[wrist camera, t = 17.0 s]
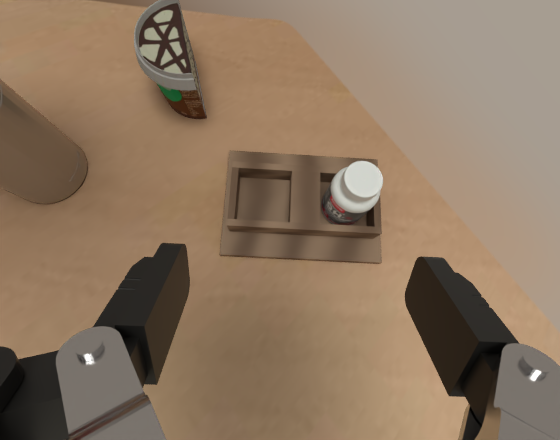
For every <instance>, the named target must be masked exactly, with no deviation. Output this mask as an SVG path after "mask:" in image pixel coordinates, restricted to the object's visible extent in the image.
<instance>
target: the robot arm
mask: <svg viewBox="0 0 560 440" xmlns="http://www.w3.org/2000/svg"><path fill="white" fill-rule="evenodd" d="M86 173H87V160H86V157H85V154H84V153H83V151H82V150H81V149H80V147H78V146H77V145H76V144H75V143H74V142H73V141H71V140H70V139H69V138H68V137H67V136H66V135H65V134H63V133H62V132H61V131H60V130H59V129H58V128H57V127H55V126H54V125H53V124H52V123H51V122H50V121H49V120H47V119H46V118H45V117H44V116H43V115H42V114H40V113H39V112H38V111H37V110H36V109H35V108H33V107H32V106H31V105H30V104H29V103H28V102H26V101H25V100H24V99H23V98H22V97H21V96H19V95H18V94H17V93H16V92H15V91H14V90H12V89H11V88H10V87H9V86H8V85H7V84H5V83H4V82H3V81H2V80H1V79H0V188H2V189H4V190H6V191H9V192H11V193H13V194H15V195H18V196H20V197H22V198H24V199H27V200H29V201H31V202H35V203H39V204H49V203H55V202H58V201H61V200H63V199H65V198H67V197H69V196H70V195H71V194H73V193H74V192H75V191H76V190H77V189H78V188H79V187H80V186H81V184H82V182H83V181H84V179H85V176H86ZM189 287H190V277H189V267H188V257H187V248H186V245H185V244H174V243H162V244H161V245H160V246H159V248H158V250H157V251H156V253H155V255H154V257H144V258H142V259H141V260H140V261H138V262H137V263H136V264H134V265H133V266H132V267H131V269H130V270H129V272H128V273H127V275H126V276H125V279H124V280H123V281H122V283H121V284H120V286H119V287H118V290H116V292H115V294H114V295H113V297H112V298H111V300H110V301H109V303H108V304H107V306H106V308H105V309H104V311H103V312H102V314H101V315H100V317H99V318H98V320H97V321H96V323H95V325H94V326H93V328H89V329H86V330H84V331H81V332H79V333H77V334H76V335H74V336H73V337H71V338H70V339H69V340H68V341H66V342H65V343H64V344H63V346H62V347H61V348H60V350H58V351H54V352H50V353H46V354H41V355H36V356H32V357H27V358H23V359H18V358H17V356H16V355H15V353H14V351H13V350H11V349H9V348H7V347H0V440H166V438H165V436H164V433H163V431H162V428H161V426H160V423H159V421H158V419H157V416H156V414H155V411H154V409H153V406H152V404H151V402H150V400H149V398H148V396H147V395H145V393H144V391H143V389H142V388H143V386H144V384H154V385H157V383H158V380H159V377H160V374H161V371H162V369H163V366H164V363H165V360H166V357H167V354H168V351H169V349H170V346H171V343H172V340H173V337H174V334H175V332H176V329H177V326H178V323H179V320H180V317H181V315H182V312H183V309H184V306H185V303H186V300H187V297H188V293H189ZM405 303H406V307H407V309H408V311H409V313H410V315H411V317H412V320H413V322H414V324H415V326H416V328H417V330H418V332H419V334H420V336H421V339H422V341H423V343H424V345H425V347H426V349H427V351H428V353H429V355H430V357H431V360H432V362H433V364H434V366H435V368H436V370H437V372H438V374H439V376H440V378H441V381H442V383H443V385H444V387H445V389H446V391H447V393H448V395H449V396H460V397H466V399H467V401H468V403H469V404H468V406H467V407H466V409H465V412H464V417H463V421H462V425H461V429H460V434H459V438H458V440H560V366H559V365H558V364H557V363H556V362H555V361H553V360H552V359H551V358H550V357H548V356H547V355H546V354H544V353H542V352H541V351H539V350H537V349H535V348H533V347H530V346H527V345H524V344H519V342H518V341H517V340H516V339H515V337H514V336H513V335H512V333H511V332H510V331H509V330H508V328H507V327H506V326H505V325H504V323H503V322H502V321H501V319H500V318H499V317H498V316H497V314H496V313H495V312H494V311H493V309H492V308H489V304H488V303H487V302H486V300H485V299H484V298H482V297H481V294H480V293H479V292H478V290H477V289H476V288H475V286H474V285H473V284H472V283H471V282H470V281H468V280H467V279H466V278H464V277H463V276H462V275H460V274H459V273H455V272H454V271H453V270H452V268H451V267H450V266H449V264H448V263H447V262H446V260H445V259H444V258H439V257H418V258H417V260H416V262H415V265H414V267H413V270H412V273H411V276H410V279H409V282H408V285H407V288H406V291H405Z"/></svg>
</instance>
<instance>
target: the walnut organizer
mask: <svg viewBox="0 0 560 440" xmlns="http://www.w3.org/2000/svg"><path fill="white" fill-rule="evenodd" d="M357 161H367V162H370V163H372V164H374V165H375V166H376V167H377V168H378V163H377V160H375V159H359V158H343V157H326V156H310V155H294V154H277V153H261V152H245V151H229V162H228V172H227V183H226V193H225V204H224V214H223V225H222V235H221V246H220V255H221V256H237V257H256V258H276V259H296V260H316V261H335V262H355V263H375V264H379V263H382V260H381V236H380V234H382V231H381V207H380V196H379V199H378V201H377V203H376V204H375V205H374V206H373V207H372V208H371V209H370V210H369V211H368V212H367V213H366V214H365V215H364V216H362V217H361V218H360V219H359V220H358V221H357V222H355V223H354V224H352V225H334V224H332V223H330V222H329V221H328V220H327V219H326V218H325V217H324V215H323V213H322V209H321V202H322V199H323V196H324V194H325V192H326V191H327V189H328V187H329V185H330V183H331V182H332V179H333V178H334V176H335V175H336V174H337V173H338V172H339V171H340V170H341V169H343V168H345V167H348V166H349V165H351V164H352V163H354V162H357Z"/></svg>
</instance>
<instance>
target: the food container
mask: <svg viewBox="0 0 560 440" xmlns="http://www.w3.org/2000/svg"><path fill="white" fill-rule="evenodd" d="M134 46H135V51H136V56H137V60H138V63H139V65H140V67H141V68H142V70H143V71H144V73H145V74H146V75H147V76H148V77H149V78H150V79H152V80H153V81H155V82H156V83H157V84H158V86H159V88H160V89H161V91H162V93H163V94H164V96H165V98H166V99H167V101H168V102H169V104H170V105H171V107H172V108H173V109H174V110H175V111H176V112H178V113H179V114H181V115H183V116H185V117H189V118H194V119H204V118H207V117H206V112H205V107H204V102H203V97H202V92H201V87H200V82H199V77H198V72H197V67H196V62H195V59H194V55H193V51H192V48H191V44H190V40H189V37H188V33H187V30H186V26H185V22H184V19H183V15H182V11H181V7H180V3H179V0H159V1H157V2H155V3H154V4H152V5H151V6H149V7H148V8H147V9H146V10H145V11H144V12H143V13H142V15H141V16H140V18H139V19H138V21H137V24H136V27H135V32H134Z"/></svg>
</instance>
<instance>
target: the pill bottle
mask: <svg viewBox="0 0 560 440" xmlns="http://www.w3.org/2000/svg"><path fill="white" fill-rule="evenodd" d="M382 184H383V177H382V174H381V172H380V170H379V169H378V168H377V167H376V166H375V165H374V164H372V163H370V162H367V161H357V162H354V163H352V164H351V165H349V166H348V167H345V168H343V169H341V170H340V171H339V172H338V173H337V174H336V175H335V176H334V178H333V179H332V182H331V183H330V185H329V187H328V189H327V191H326V192H325V194H324V196H323V199H322V202H321V209H322V213H323V215H324V217H325V218H326V219H327V220H328V221H329V222H330V223H332V224H334V225H352V224H354V223H355V222H357V221H358V220H359V219H360V218H361V217H362V216H364V215H365V214H366V213H367V212H368V211H369V210H370V209H371V208H372V207H373V206H374V205H375V204H376V203H377V201H378V199H379V196H380V190H381V188H382Z"/></svg>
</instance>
